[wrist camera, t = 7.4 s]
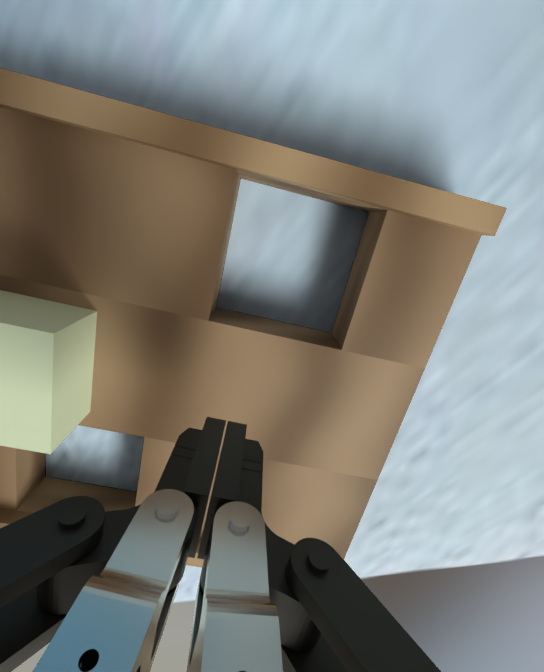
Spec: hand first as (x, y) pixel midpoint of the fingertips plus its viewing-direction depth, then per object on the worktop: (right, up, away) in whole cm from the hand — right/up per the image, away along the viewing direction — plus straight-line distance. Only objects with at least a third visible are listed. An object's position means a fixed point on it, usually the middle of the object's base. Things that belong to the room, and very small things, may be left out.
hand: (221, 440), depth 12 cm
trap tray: (-3, +3, +5) cm, 6 cm away
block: (-8, +3, +2) cm, 9 cm away
